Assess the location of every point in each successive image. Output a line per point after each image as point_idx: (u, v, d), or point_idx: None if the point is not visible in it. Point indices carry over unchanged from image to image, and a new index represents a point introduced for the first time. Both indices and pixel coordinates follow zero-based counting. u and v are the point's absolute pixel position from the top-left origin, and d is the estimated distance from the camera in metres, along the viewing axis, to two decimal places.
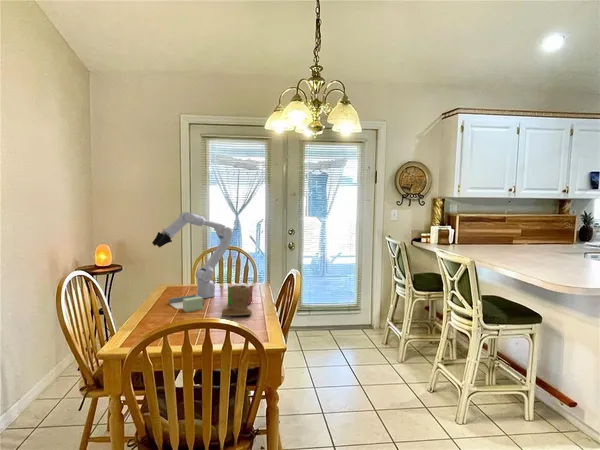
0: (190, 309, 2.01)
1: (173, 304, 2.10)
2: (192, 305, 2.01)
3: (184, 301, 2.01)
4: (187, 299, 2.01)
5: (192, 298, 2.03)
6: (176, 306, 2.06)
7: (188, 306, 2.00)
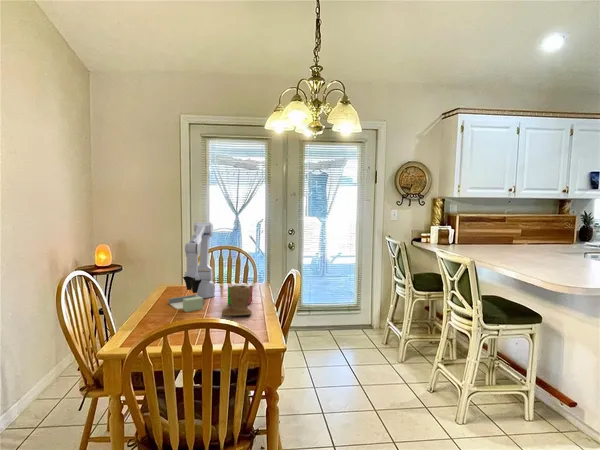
0: (190, 309, 2.01)
1: (173, 304, 2.10)
2: (192, 305, 2.01)
3: (184, 301, 2.01)
4: (187, 299, 2.01)
5: (192, 298, 2.03)
6: (176, 306, 2.06)
7: (188, 305, 2.00)
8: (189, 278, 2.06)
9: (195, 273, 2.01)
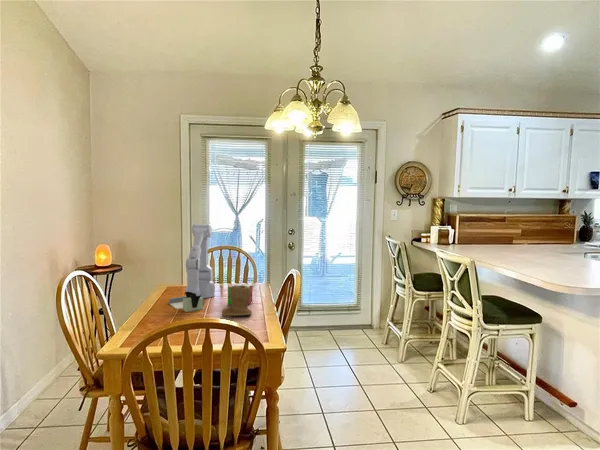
0: (190, 309, 2.01)
1: (173, 304, 2.10)
2: None
3: (184, 301, 2.01)
4: (187, 299, 2.01)
5: None
6: (176, 306, 2.06)
7: (188, 305, 2.00)
8: (191, 293, 2.05)
9: (196, 288, 2.01)
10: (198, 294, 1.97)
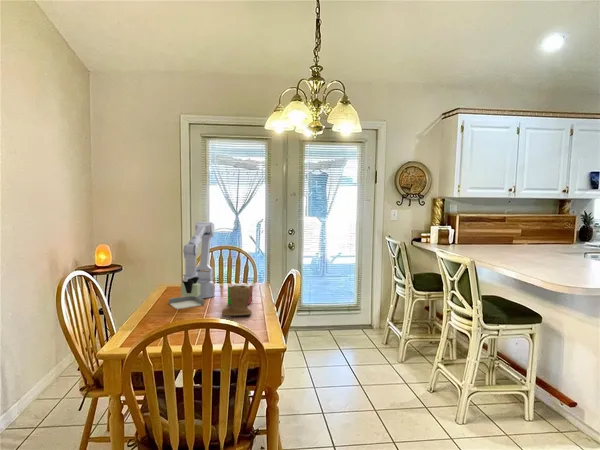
0: (184, 294, 2.05)
1: (173, 304, 2.10)
2: None
3: None
4: None
5: None
6: (176, 306, 2.06)
7: (183, 290, 2.05)
8: (192, 279, 2.09)
9: (189, 274, 2.03)
10: (185, 280, 1.99)
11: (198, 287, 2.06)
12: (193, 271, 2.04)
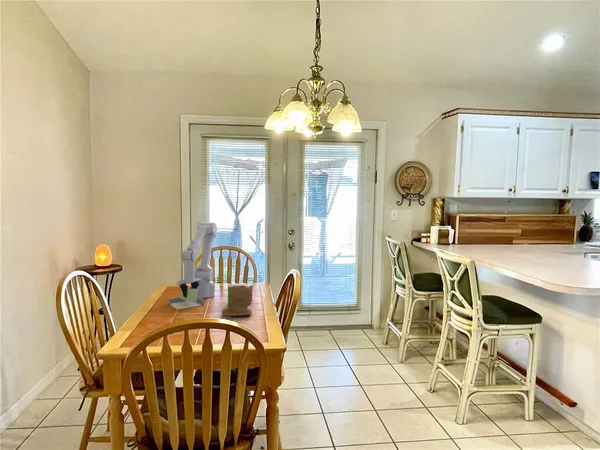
0: (183, 297, 2.12)
1: (173, 304, 2.10)
2: None
3: None
4: None
5: (189, 288, 2.11)
6: (176, 306, 2.06)
7: (182, 293, 2.12)
8: (193, 284, 2.13)
9: (185, 279, 2.08)
10: (177, 284, 2.06)
11: (193, 293, 2.08)
12: (188, 276, 2.08)
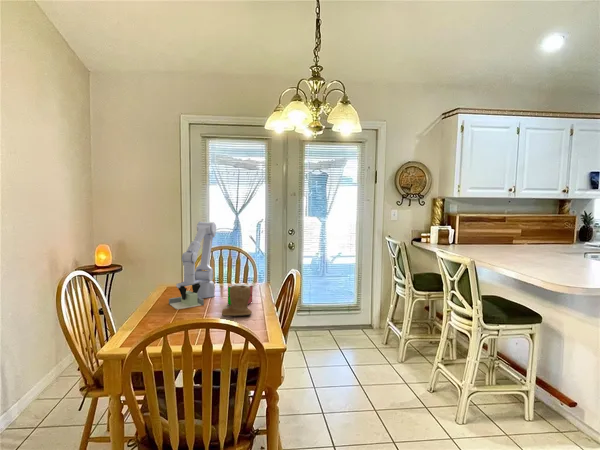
0: (183, 301, 2.12)
1: (173, 304, 2.10)
2: None
3: None
4: None
5: (189, 292, 2.12)
6: (176, 306, 2.06)
7: None
8: (194, 286, 2.14)
9: (185, 281, 2.09)
10: (177, 286, 2.06)
11: (193, 297, 2.08)
12: (188, 278, 2.08)
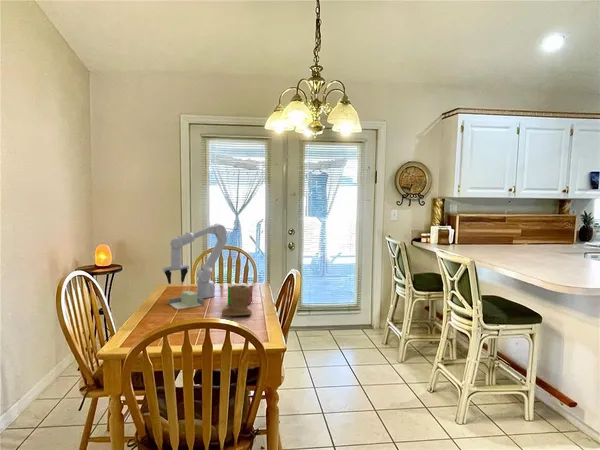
0: (183, 301, 2.12)
1: (173, 304, 2.10)
2: (184, 298, 2.11)
3: None
4: (185, 291, 2.13)
5: (189, 292, 2.12)
6: (176, 306, 2.06)
7: (182, 297, 2.12)
8: (182, 271, 2.24)
9: (171, 266, 2.19)
10: (163, 270, 2.17)
11: (193, 297, 2.08)
12: (174, 263, 2.18)
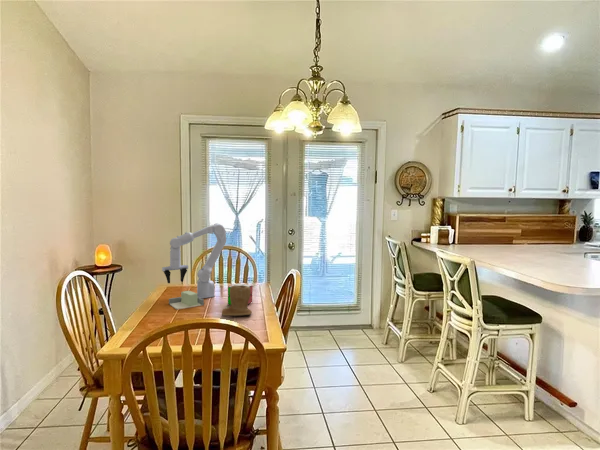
0: (183, 301, 2.12)
1: (173, 304, 2.10)
2: (184, 298, 2.11)
3: None
4: (185, 291, 2.13)
5: (189, 292, 2.12)
6: (176, 306, 2.06)
7: (182, 297, 2.12)
8: (181, 271, 2.24)
9: (171, 266, 2.20)
10: (162, 269, 2.18)
11: (193, 297, 2.08)
12: (173, 263, 2.19)
